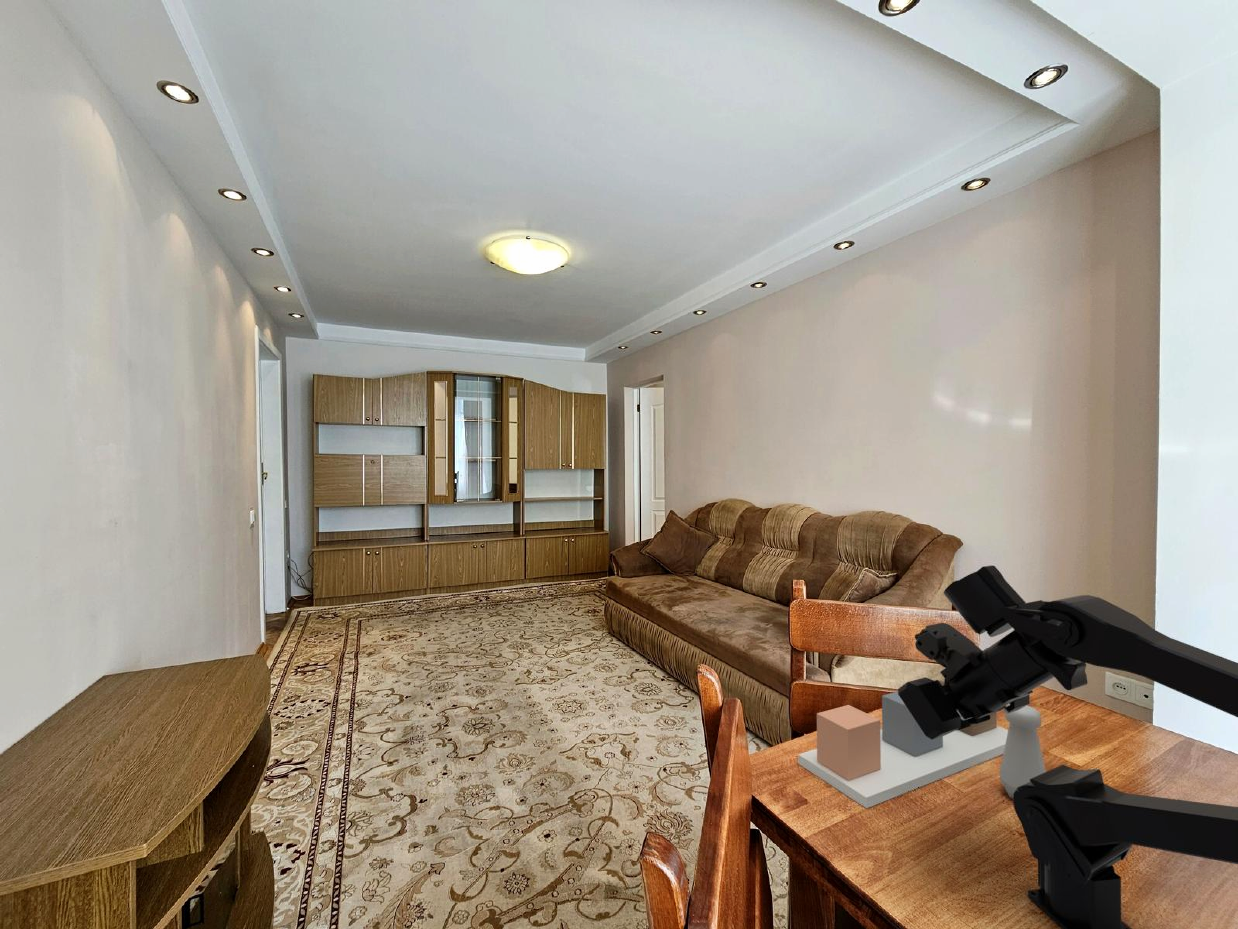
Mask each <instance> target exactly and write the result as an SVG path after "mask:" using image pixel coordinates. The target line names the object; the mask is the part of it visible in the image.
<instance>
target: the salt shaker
mask: <svg viewBox="0 0 1238 929" xmlns="http://www.w3.org/2000/svg"><path fill="white" fill-rule="evenodd" d="M1009 705H1010V704H1007V705H1006V707H1007V706H1009ZM1004 717H1005V720H1006V722H1008V723H1009V726H1008V729H1007V730H1008V734H1007V739H1006V744H1005V749H1004V754H1002V759H1001V764H1000V769H999V774H998V775H999V780H1000V782H1001V784H1002V786H1003V787H1004V789H1005V792H1006V793H1007V794H1008V798H1011V799H1012V800H1013V795H1014V792H1015V791H1016V789H1017V787H1020V786H1022V785H1024V784H1026V783H1029V782H1031V781H1030V779H1031V778H1034V777H1036V776H1038V775H1040V774H1042V773H1045V772H1047V770H1046V765H1045V762H1044V756H1043V753H1042V749H1041V743H1040V740H1039V738H1040V737H1039V735H1038V734H1039V733H1038V730H1037V729H1040V728H1041V726H1042V715H1041V712H1040V711H1038V710H1037V709H1036V708H1035V707H1032V706H1030V705H1026V706H1025V707H1023V708H1021V709H1019V710H1017V711H1014V712H1011V713H1008V714H1007V713H1006V712H1005V711H1004Z"/></svg>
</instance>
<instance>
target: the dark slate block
mask: <svg viewBox="0 0 1238 929" xmlns="http://www.w3.org/2000/svg"><path fill="white" fill-rule="evenodd" d="M881 726H882V727H881V729H882V740H883V741H885V742H887V743H889V744H891V745H893V746H895V747H897V748H899V749H901V750H903V751H905V752H907V753H909V754H911V755H913V756H918V755H921V754H924V753H927V752H929V751H932V750H935V749H938V748H941V747H943V736H941V737H939V738H936V739H933V740H932V739H930V738H928V737H927V736H925V734H924V733H923V731H922V730H921V728H920V727H919V725H918V724H917V722H916V720H915V719H914V717H913V716H912V714H911V713H910V711H909V710H908V708H907V707H906V705H905V704H904V702H903V701H902V699H901V698H900V696H899V695H898V690H897V691H895V692H890V693H885V694H883V695H881Z"/></svg>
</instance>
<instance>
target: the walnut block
mask: <svg viewBox="0 0 1238 929" xmlns="http://www.w3.org/2000/svg"><path fill="white" fill-rule="evenodd" d="M937 680H938V681H939V682H940V683H941V685H942V686H943V685H944V681H945V678H942V679H937ZM970 725H971V726H970V727H967V728H964V729H961V730H959V731H962V732H964V733H966V734H969V735H971V736H974V735H977V734H980V733H982V732H985V731H988V730H991V729H994V728H996V727H997V726H998V725H997V712H996V713H993V714H990V720H987V721H984V722H982V723H979V724H970Z"/></svg>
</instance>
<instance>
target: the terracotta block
mask: <svg viewBox="0 0 1238 929" xmlns="http://www.w3.org/2000/svg"><path fill="white" fill-rule="evenodd" d="M880 729H881V719H879V718H877V717H875V716H873V715H871V714H868V713H866V712H864V711H862V710H860V709H858V708H856V707H854V706H851V704H847V705H843V706H840V707H836V708H832V709H829V710H825V711H820V712H817V713H816V749H817V761H818V762H819V763H821V764H822V765H824V766H826V767H827V768H829V769H830V770H832V771H834V772H835V773H837V774H838V775H840V776H842V777H843V778H845V779H846V780H851V779H854V778H857V777H860V776H862V775H865V774H868V773H871V772H874V771H876V770H879V769H881V741H880Z"/></svg>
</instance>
